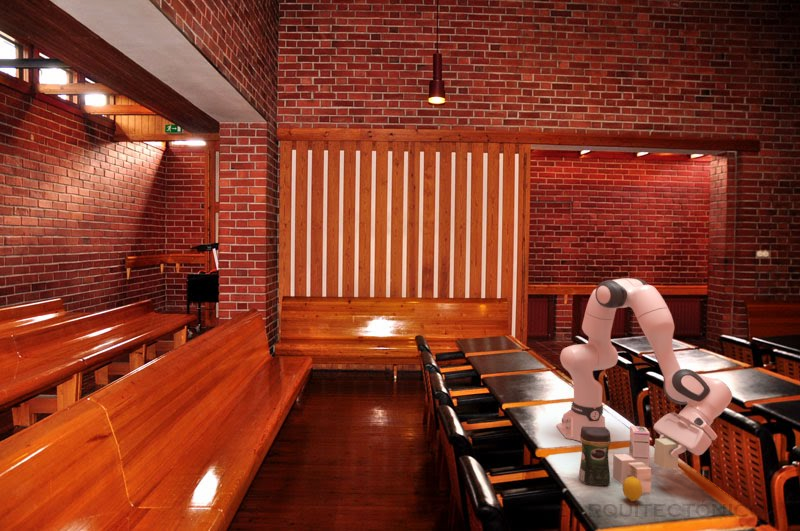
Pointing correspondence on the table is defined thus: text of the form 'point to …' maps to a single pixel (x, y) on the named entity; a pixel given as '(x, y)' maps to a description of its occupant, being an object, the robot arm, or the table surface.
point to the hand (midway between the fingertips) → (664, 451)
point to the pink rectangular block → (621, 467)
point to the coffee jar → (595, 456)
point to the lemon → (632, 488)
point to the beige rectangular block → (665, 453)
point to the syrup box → (639, 444)
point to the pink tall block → (641, 475)
